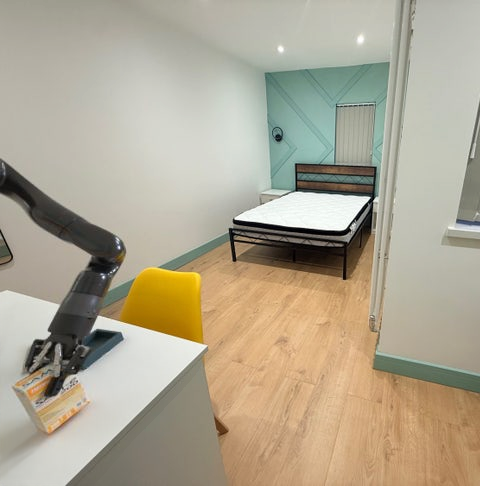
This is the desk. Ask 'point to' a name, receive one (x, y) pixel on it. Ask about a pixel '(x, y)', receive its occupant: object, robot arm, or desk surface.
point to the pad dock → (100, 344)
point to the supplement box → (50, 398)
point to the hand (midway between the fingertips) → (39, 393)
